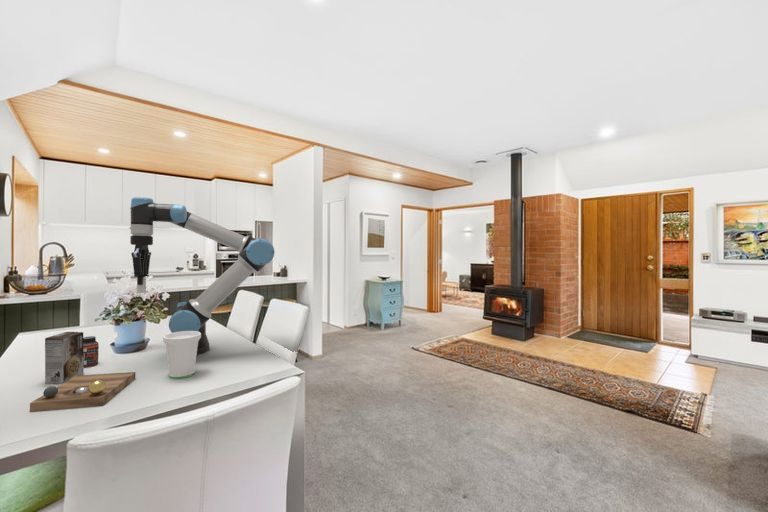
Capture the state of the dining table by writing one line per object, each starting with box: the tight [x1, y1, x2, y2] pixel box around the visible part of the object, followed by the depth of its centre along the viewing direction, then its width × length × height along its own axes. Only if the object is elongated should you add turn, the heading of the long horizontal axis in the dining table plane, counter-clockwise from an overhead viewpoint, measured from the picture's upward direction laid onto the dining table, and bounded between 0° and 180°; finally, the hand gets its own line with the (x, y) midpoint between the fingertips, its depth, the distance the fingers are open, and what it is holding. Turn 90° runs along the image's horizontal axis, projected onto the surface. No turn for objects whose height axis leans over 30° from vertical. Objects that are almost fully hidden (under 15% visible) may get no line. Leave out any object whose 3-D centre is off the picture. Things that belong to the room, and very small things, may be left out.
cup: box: [162, 331, 201, 380], centre depth 129 cm, size 12×12×15 cm
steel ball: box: [75, 387, 88, 394], centre depth 108 cm, size 3×3×3 cm
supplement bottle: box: [83, 335, 100, 368], centre depth 137 cm, size 6×6×11 cm
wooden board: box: [29, 371, 136, 412], centre depth 111 cm, size 22×18×2 cm
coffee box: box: [44, 331, 85, 385], centre depth 123 cm, size 9×6×16 cm
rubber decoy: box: [43, 385, 58, 397], centre depth 103 cm, size 3×3×3 cm
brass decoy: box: [88, 380, 106, 395], centre depth 105 cm, size 4×4×4 cm
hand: (141, 292), depth 140 cm, fingers closed
